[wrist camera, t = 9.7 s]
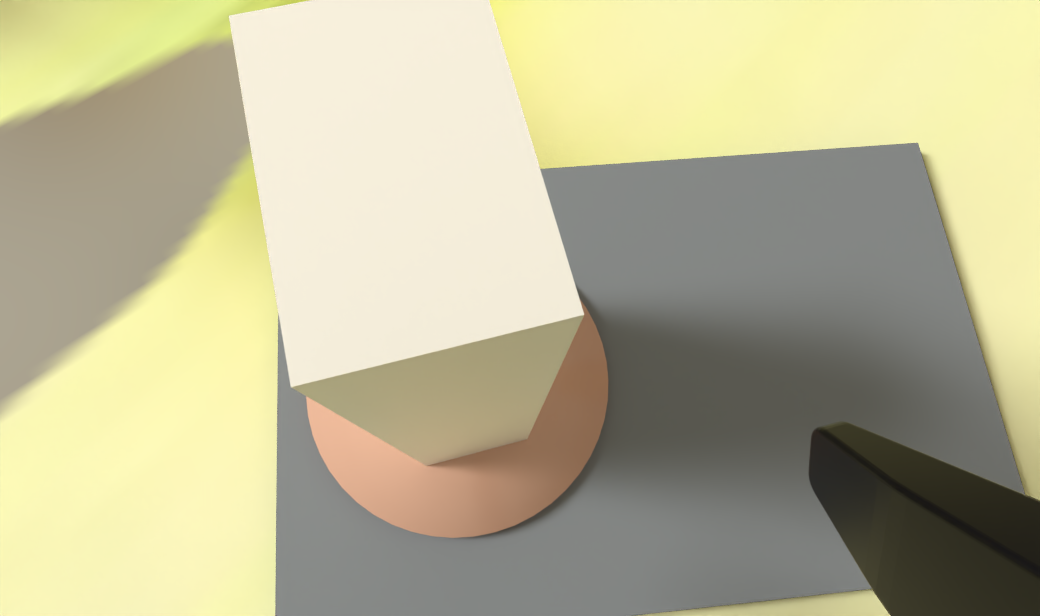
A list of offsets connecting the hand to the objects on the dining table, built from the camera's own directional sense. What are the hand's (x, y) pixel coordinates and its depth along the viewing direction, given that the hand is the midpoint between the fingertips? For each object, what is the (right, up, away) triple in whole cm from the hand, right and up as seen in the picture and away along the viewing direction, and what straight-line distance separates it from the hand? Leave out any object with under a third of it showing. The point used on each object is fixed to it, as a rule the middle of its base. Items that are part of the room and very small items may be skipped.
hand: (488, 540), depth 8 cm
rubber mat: (+4, +1, +13) cm, 13 cm away
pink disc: (-1, +1, +12) cm, 12 cm away
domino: (-1, +1, +11) cm, 11 cm away
